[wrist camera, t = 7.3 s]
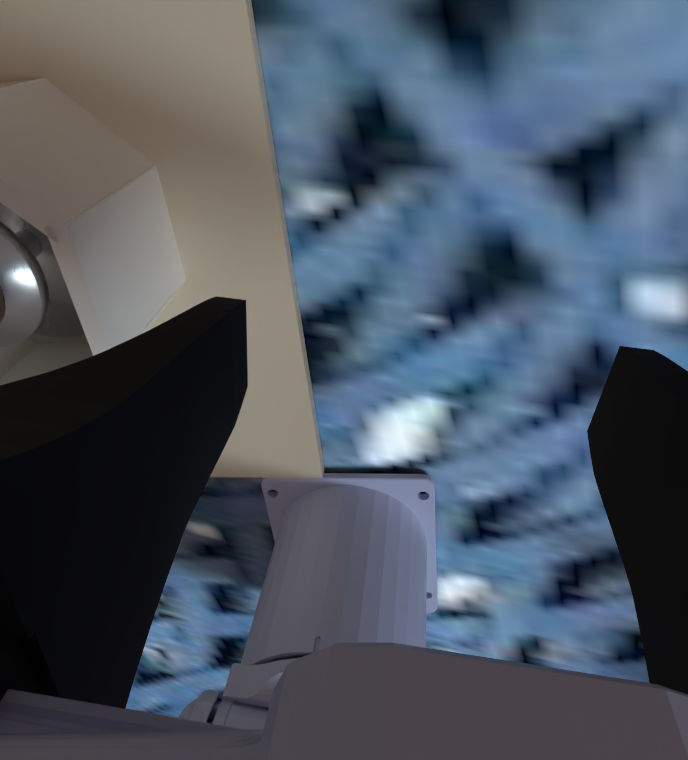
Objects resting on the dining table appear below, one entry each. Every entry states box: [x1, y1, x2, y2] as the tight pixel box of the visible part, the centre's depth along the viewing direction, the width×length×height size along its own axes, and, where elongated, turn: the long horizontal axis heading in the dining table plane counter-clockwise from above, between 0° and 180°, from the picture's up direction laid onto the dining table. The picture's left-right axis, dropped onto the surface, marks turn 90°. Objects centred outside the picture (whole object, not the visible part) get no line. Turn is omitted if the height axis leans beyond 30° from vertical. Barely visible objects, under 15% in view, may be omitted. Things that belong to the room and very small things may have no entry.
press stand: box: [0, 0, 325, 478], centre depth 20 cm, size 24×18×7 cm
